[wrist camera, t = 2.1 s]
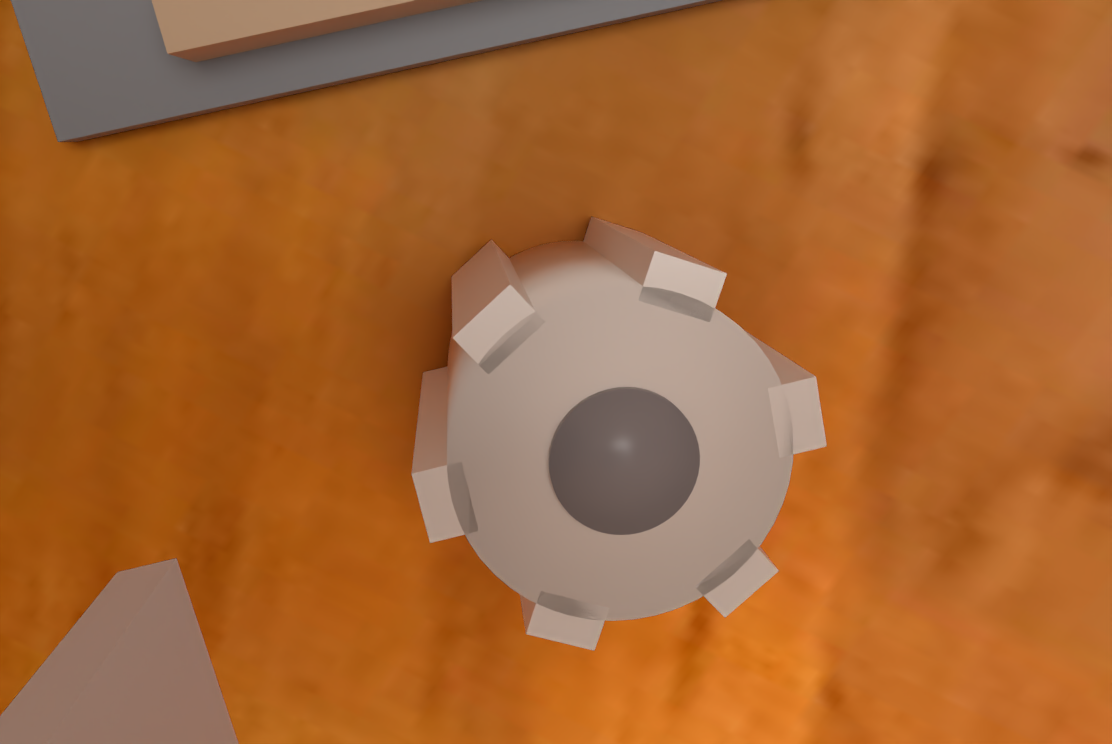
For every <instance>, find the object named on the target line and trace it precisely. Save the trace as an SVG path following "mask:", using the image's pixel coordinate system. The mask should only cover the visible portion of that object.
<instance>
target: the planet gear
mask: <svg viewBox="0 0 1112 744" xmlns="http://www.w3.org/2000/svg"><path fill="white" fill-rule="evenodd" d="M726 275H727V273H725V272H723V271H721V270H718V269H716V268H714V267H712V266H710V265H708V264H706V263H704V262H702V261H700V260H698V259H696V258H694V257H692V256H690V255H687V254H685V253H683V252H681V251H679V250H677V249H675V248H673V247H671V246H669V245H667V244H665V243H663V242H661V241H659V240H656V239H654V238H652V237H650V236H648V235H646V234H644V233H642V232H639V231H636V230H633V229H629V228H626V227H623V226H620V225H617V224H614V223H611V222H607V221H604V220H601V219H598V218H595V217H592V216H591V219H590V222H589V225H588V228H587V231H586V234H585V238H584V241H558V242H552V243H546V244H542V245H539V246H535V247H532V248H529V249H527V250H524V251H522V252H520V253H518V254H515V255H513V256H512V257H510V258H508V257H507V255H506V254H505V253H504V252H503V251H502V250H501V249H500V248H499V247H498V246H497V245H496V244H495V243H494V241H493V240H492V239H491V240H490V241H489V242H488V243H487V244H486V245H485V246H484V247H483V248H481V249H480V250H479V251H478V252H477V253H476V254H475V255H474V256H473V257H472V258H471V259H470V260H469V261H468V262H466V263H465V264H464V265H463V266H462V267H461V268H460V269H459V270H458V271H457V272H456V273H455V274H454V275H453V276H452V334H451V339H450V343H449V352H448V366H447V367H443V368H439V369H434V370H430V371H426V372H423V377H422V386H421V395H420V403H419V412H418V421H417V430H416V438H415V447H414V456H413V465H412V473H411V474H412V478H413V481H414V485H415V489H416V492H417V496H418V500H419V504H420V507H421V511H422V515H423V519H424V522H425V526H426V530H427V534H428V537H429V541H430V543H432V542H436V541H441V540H445V539H449V538H453V537H457V536H461V535H465V536H466V538H467V540H468V541H469V543H470V544H471V546H472V547H473V549H474V550H475V552H476V553H477V555H478V556H479V558H480V559H481V560H482V561H483V562H484V563H485V565H486V566H487V567H488V568H489V569H490V570H491V571H492V572H493V573H494V574H495V575H496V576H497V577H498V578H499V579H500V580H502V581H503V582H504V583H505V584H506V585H508V586H509V587H510V588H511V589H513V590H514V591H516V592H517V593H519V594H520V599H521V605H522V612H523V618H524V625H525V631H526V634H528V635H532V636H536V637H540V638H544V639H548V640H552V641H557V642H561V643H565V644H569V645H573V646H577V647H581V648H585V649H590V650H595V648H596V645H597V642H598V639H599V636H600V633H601V631H602V628H603V625H604V622H605V620H607V621H617V620H632V619H639V618H644V617H650V616H655V615H659V614H662V613H665V612H668V611H671V610H674V609H677V608H680V607H682V606H684V605H686V604H689V603H691V602H693V601H695V600H697V599H699V598H701V597H702V596H704V597H705V598H706V599H707V600H708V601H709V602H710V603H711V604H712V605H713V606H714V607H715V608H716V609H717V610H718V611H719V612H720V613H721V614H722V615H723V616H724V617H727V616H728V615H729V614H730V613H731V612H732V611H733V610H735V609H736V608H737V607H738V606H739V605H740V604H741V603H743V602H744V601H745V600H746V599H747V598H748V597H750V596H751V595H752V594H753V593H754V592H755V591H756V590H758V589H759V588H760V587H761V586H762V585H763V584H764V583H766V582H767V581H768V580H769V579H770V578H771V577H772V576H774V575H775V574H776V573H777V572H778V571H779V570H778V569H777V568H776V566H775V565H774V564H773V563H772V561H771V560H770V559H769V557H768V556H767V555H766V553H765V552H764V551H763V549H762V548H761V547H760V545H761V544H762V542H763V541H764V539H765V537H766V536H767V534H768V532H769V531H770V529H771V528H772V526H773V524H774V522H775V520H776V518H777V516H778V514H779V511H780V509H781V507H782V505H783V502H784V499H785V495H786V492H787V489H788V486H789V482H790V476H791V470H792V464H793V454H797V453H802V452H806V451H810V450H814V449H818V448H822V447H826V446H827V444H826V438H825V431H824V425H823V419H822V412H821V406H820V399H819V393H818V386H817V380H816V376H814V375H813V374H811V373H810V372H808V371H807V370H805V369H803V368H802V367H800V366H799V365H797V364H796V363H794V362H793V361H791V360H790V359H788V358H786V357H785V356H783V355H782V354H780V353H779V352H777V351H776V350H774V349H773V348H771V347H769V346H768V345H766V344H765V343H763V342H762V341H760V340H759V339H757V338H756V337H754V336H752V335H751V334H749V333H748V332H746V331H745V330H743V329H742V328H741V327H740V326H739V325H738V324H736V323H735V322H734V321H732V320H731V319H730V318H728V317H727V316H726V315H724V314H723V313H722V312H720V311H719V310H717V309H716V308H715V307H716V304H717V301H718V298H719V295H720V292H721V290H722V287H723V284H724V281H725V278H726Z"/></svg>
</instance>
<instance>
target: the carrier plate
mask: <svg viewBox="0 0 1112 744" xmlns="http://www.w3.org/2000/svg"><path fill="white" fill-rule="evenodd" d="M717 1H722V0H11V2H12V5H13V8H14V11H15V14H16V17H17V20H18V23H19V26H20V29H21V32H22V35H23V38H24V41H25V44H26V47H27V50H28V53H29V56H30V59H31V62H32V65H33V68H34V71H35V74H36V77H37V80H38V83H39V86H40V89H41V92H42V95H43V98H44V101H45V104H46V107H47V110H48V113H49V116H50V119H51V122H52V125H53V128H54V131H55V134H56V137H57V140H58V142H78V141H83V140H87V139H92V138H96V137H101V136H105V135H110V134H115V133H119V132H124V131H128V130H133V129H137V128H142V127H147V126H151V125H156V124H160V123H165V122H169V121H174V120H178V119H183V118H188V117H192V116H197V115H201V114H206V113H210V112H215V111H220V110H224V109H229V108H233V107H238V106H242V105H247V104H251V103H256V102H261V101H265V100H270V99H274V98H279V97H283V96H288V95H293V94H297V93H302V92H306V91H311V90H315V89H320V88H325V87H329V86H334V85H338V84H343V83H347V82H352V81H356V80H361V79H366V78H370V77H375V76H379V75H384V74H388V73H393V72H398V71H402V70H407V69H411V68H416V67H420V66H425V65H430V64H434V63H439V62H443V61H448V60H452V59H457V58H461V57H466V56H471V55H475V54H480V53H484V52H489V51H493V50H498V49H503V48H507V47H512V46H516V45H521V44H525V43H530V42H535V41H539V40H544V39H548V38H553V37H557V36H562V35H566V34H571V33H576V32H580V31H585V30H589V29H594V28H598V27H603V26H608V25H612V24H617V23H621V22H626V21H630V20H635V19H640V18H644V17H649V16H653V15H658V14H662V13H667V12H671V11H676V10H681V9H685V8H690V7H694V6H699V5H703V4H708V3H713V2H717Z"/></svg>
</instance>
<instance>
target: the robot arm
mask: <svg viewBox="0 0 1112 744" xmlns="http://www.w3.org/2000/svg"><path fill="white" fill-rule="evenodd" d="M0 744H238V740H237V737H236V734H235V731H234V728H233V725H232V722H231V719H230V716H229V713H228V710H227V707H226V704H225V701H224V698H223V696H222V693H221V690H220V687H219V684H218V681H217V678H216V675H215V672H214V669H213V666H212V663H211V660H210V657H209V654H208V651H207V648H206V645H205V642H204V639H203V636H202V633H201V630H200V627H199V624H198V621H197V618H196V615H195V612H194V609H193V606H192V603H191V600H190V597H189V594H188V591H187V588H186V585H185V582H184V579H183V576H182V573H181V570H180V567H179V564H178V561H177V558H175V559H171V560H167V561H162V562H158V563H154V564H150V565H145V566H141V567H137V568H133V569H128V570H124V571H120V572H117V573H116V574H115V576H114V577H113V578H112V579H111V580H110V582H109V583H108V584H107V585H106V587H105V588H104V589H103V590H102V592H101V593H100V594H99V595H98V596H97V598H96V599H95V600H94V601H93V603H92V604H91V605H90V606H89V608H88V609H87V610H86V611H85V612H84V614H83V615H82V616H81V617H80V619H79V620H78V621H77V622H76V623H75V625H74V626H73V627H72V628H71V630H70V631H69V632H68V633H67V635H66V636H65V637H64V638H63V639H62V641H61V642H60V643H59V644H58V646H57V647H56V648H55V649H54V650H53V652H52V653H51V654H50V655H49V657H48V658H47V659H46V660H45V662H44V663H43V664H42V665H41V666H40V668H39V669H38V670H37V671H36V673H35V674H34V675H33V676H32V678H31V679H30V680H29V681H28V682H27V684H26V685H25V686H24V687H23V689H22V690H21V691H20V692H19V693H18V695H17V696H16V697H15V698H14V700H13V701H12V702H11V703H10V705H9V706H8V707H7V708H6V709H5V711H4V712H3V713H2V714H1V716H0Z"/></svg>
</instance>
